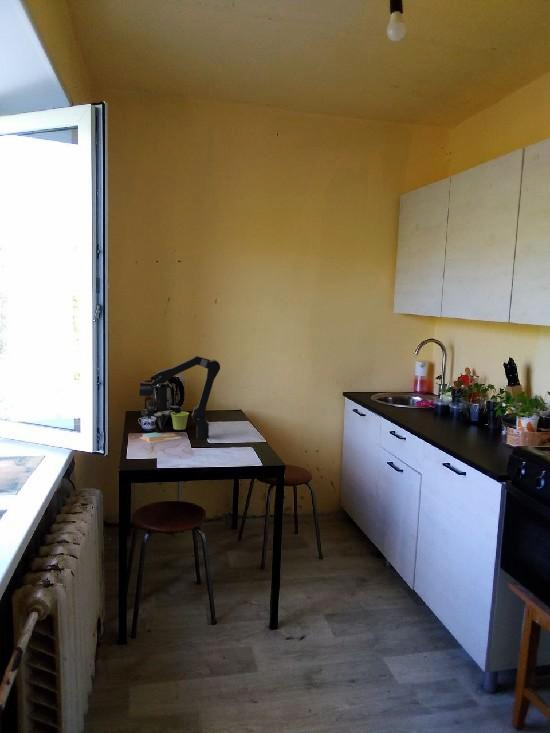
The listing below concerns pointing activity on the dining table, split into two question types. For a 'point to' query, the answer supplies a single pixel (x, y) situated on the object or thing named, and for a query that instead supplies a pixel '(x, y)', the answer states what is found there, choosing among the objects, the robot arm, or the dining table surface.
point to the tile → (152, 437)
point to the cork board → (165, 437)
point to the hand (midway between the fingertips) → (161, 428)
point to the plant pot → (179, 420)
